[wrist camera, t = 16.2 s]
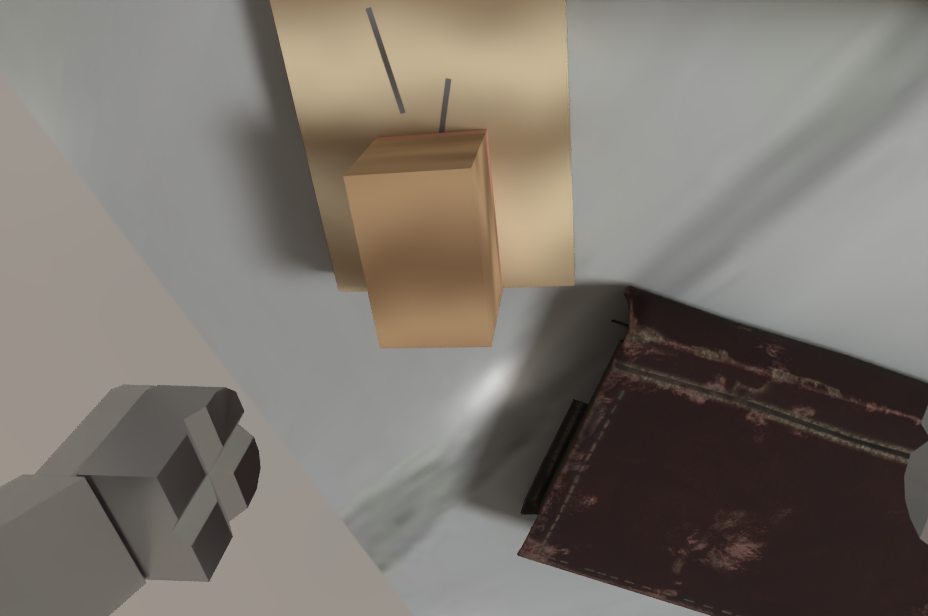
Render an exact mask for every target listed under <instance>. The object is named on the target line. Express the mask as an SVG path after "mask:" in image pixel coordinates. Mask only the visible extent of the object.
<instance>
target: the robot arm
mask: <svg viewBox="0 0 928 616" xmlns="http://www.w3.org/2000/svg"><path fill="white" fill-rule="evenodd" d="M243 413H244V410H243V407H242V405H241V403H240V400H239V398H238V396H237V393H236V392H235V391H233V390H230V389H228V388H226V387H198V386H170V385H157V386H151V385H122V386H119V387H116V388H114V389H111V390H110V391H109V392H108V394H107V395H106V396H105V397H104V398H103V399H102V400H101V402H100V403H98V405H97V406H96V407H95V408H94V409H93V410H92V411H91V412H90V413H89V415H88V416H87V417H86V418H85V419H84V420H83V421H82V422H81V424H80V425H79V426H78V427H77V428H76V429H75V430H74V431H73V432H72V433H71V434H70V436H69V437H68V438H67V439H66V440H65V441H64V442H63V443H62V444H61V446H60V447H59V448H58V449H57V450H56V451H55V452H54V453H53V454H52V455H51V457H50V458H49V459H48V460H47V461H46V462H45V463H44V464H43V466H42V467H41V468H40V469H39V470H38V471H37V472H36V473H35V474H34V475H21V476H19V477H17V478H16V479H14V480H12V481H10V482H8V483H6V484H5V485H3V486H1V487H0V616H109V615H110V614H111V613H113V612H114V611H115V610H116V609H117V608H118V607H119V606H121V605H122V604H123V603H124V602H125V601H126V600H127V599H128V598H130V597H131V596H132V595H133V594H134V593H135V592H136V591H137V590H139V589H140V588H141V587H142V586H143V585H144V584H145V583H146V582H145V580H144V579H148V580H174V581H202V582H209V581H210V579H211V577H212V575H213V573H214V571H215V569H216V567H217V565H218V564H219V562H220V560H221V558H222V556H223V554H224V552H225V550H226V548H227V546H228V545H229V543H230V541H231V539H232V537H233V536H232V532H231V528H230V524H229V521H230V520H232V519H233V518H234V517H236V516H237V515H238V514H240V513H241V512H243V511H244V510H245V509H247V508H248V506H249V504H250V502H251V500H252V498H253V495H254V494H255V491H256V489H257V483H258V478H259V473H260V459H259V450H258V447H257V445H256V442H255V439H254V437H253V436H252V435H251V434H249V432H247V431H246V430H245V429H244V428H243V427H241V426H240V425H239V424H238V423H239V421H240V419H241V417H242V415H243ZM921 424H922V426H923V428H924V429H925V431H926V433H927V434H928V406H927V409H926V411H925V414H924V417H923V420H922V422H921ZM904 482H905V501H906V505H907V508H908V512H909V516H910V519H911V521H912V523H913V525H914V527H915V529H916V532H917V534H918V536H919V538H920V539H921V540H922V541H924V542H925V543H927V544H928V442H926V443H925V444H923V445H922V446H920V447H919V448H918V449H916V450H915V451H913V452H912V453H911V454H910V458H909V461H908V465H907V468H906V472H905V475H904Z"/></svg>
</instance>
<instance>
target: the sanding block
mask: <svg viewBox="0 0 928 616" xmlns="http://www.w3.org/2000/svg"><path fill="white" fill-rule="evenodd" d="M343 178H344V182H345V187H346V192H347V197H348V201H349V206H350V211H351V215H352V220H353V225H354V229H355V234H356V239H357V243H358V248H359V253H360V257H361V262H362V267H363V271H364V276H365V281H366V285H367V290H368V295H369V299H370V304H371V309H372V314H373V318H374V323H375V328H376V332H377V337H378V342H379V346H380V348H442V347H491V346H492V341H493V336H494V331H495V326H496V321H497V316H498V311H499V306H500V301H501V296H502V291H503V287H502V277H501V266H500V256H499V246H498V236H497V225H496V215H495V205H494V195H493V185H492V174H491V164H490V154H489V144H488V133H487V129H483V130H470V131H456V132H442V133H428V134H414V135H400V136H387V137H376V139H375V140H374V141H373V142H372V143H371V144H370V146H369V147H368V148H367V149H366V150H365V151H364V152H363V154H362V155H361V156H360V157H359V158H358V159H357V161H356V162H355V163H354V164H353V165H352V166H351V168H350V169H349V170H348V171H347V172H346V173H345V175H344V176H343Z"/></svg>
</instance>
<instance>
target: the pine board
mask: <svg viewBox="0 0 928 616" xmlns="http://www.w3.org/2000/svg"><path fill="white" fill-rule="evenodd" d="M270 4H271V8H272V12H273V16H274V20H275V25H276V29H277V33H278V37H279V42H280V46H281V50H282V54H283V58H284V63H285V67H286V71H287V75H288V80H289V84H290V88H291V92H292V96H293V101H294V105H295V109H296V113H297V118H298V122H299V126H300V130H301V134H302V139H303V143H304V147H305V151H306V156H307V160H308V164H309V168H310V172H311V177H312V181H313V185H314V189H315V194H316V198H317V202H318V206H319V210H320V215H321V219H322V223H323V227H324V232H325V236H326V240H327V244H328V248H329V253H330V257H331V261H332V265H333V270H334V274H335V278H336V282H337V286H338V291H339V292H366V291H368V290H367V285H366V281H365V276H364V271H363V267H362V262H361V257H360V253H359V248H358V243H357V239H356V234H355V229H354V225H353V220H352V215H351V211H350V206H349V201H348V197H347V192H346V187H345V182H344V178H343V176H344V175H345V173H346V172H347V171H348V170H349V169H350V168H351V166H352V165H353V164H354V163H355V162H356V161H357V159H358V158H359V157H360V156H361V155H362V154H363V152H364V151H365V150H366V149H367V148H368V147H369V146H370V144H371V143H372V142H373V141H374V140H375V139H376V137H387V136H400V135H414V134H428V133H442V132H456V131H470V130H483V129H487V133H488V144H489V154H490V164H491V174H492V185H493V195H494V205H495V215H496V225H497V236H498V246H499V256H500V266H501V277H502V287H503V288H509V287H545V286H575V257H574V228H573V198H572V169H571V140H570V110H569V81H568V52H567V22H566V0H270Z"/></svg>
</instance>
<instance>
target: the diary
mask: <svg viewBox="0 0 928 616" xmlns="http://www.w3.org/2000/svg"><path fill="white" fill-rule="evenodd" d="M625 296H626V298H627V300H628V304H629V312H630V321H629V324H625V323H622V322H619V321H616V320H613V319H612V320H611V321H612V322H615V323H618V324H621V325H624V326H627V329H629V332H628V334H627V336H626V338H625V340H624V341H622V340H620V342H619V344H618V346H617V348H616V350H615V352H614V354H613V356H612V358H611V360H610V362H609V364H608V366H607V368H606V370H605V372H604V374H603V376H602V378H601V380H600V382H599V384H598V386H597V388H596V390H595V392H594V394H593V396H592V398H591V400H590V402H589V404H586V403H583V402H580V401H577V400H573V402H572V404H571V406H570V408H569V410H568V412H567V414H566V416H565V418H564V420H563V422H562V424H561V426H560V428H559V430H558V432H557V434H556V436H555V438H554V440H553V443H552V445H551V447H550V449H549V451H548V453H547V455H546V456H545V458H544V460H543V462H542V464H541V466H540V468H539V470H538V472H537V475H536V477H535V479H534V481H533V483H532V486H531V488H530V490H529V492H528V495H527V497H526V499H525V502H524V505H523V507H522V510H521V514H537V515H538V517H537V519H536V521H535V522H534V524H533V526H532V527H531V530H530V532H529V534H528V536H527V538H526V540H525V541H524V543H523V545H522V547H521V549H520V550H519V552H518V553H517V555H518V556H520V557H524V558H527V559H530V560H533V561H537V562H540V563H543V564H546V565H550V566H553V567H556V568H559V569H562V570H566V571H569V572H572V573H575V574H579V575H582V576H585V577H588V578H591V579H595V580H598V581H601V582H604V583H608V584H611V585H614V586H617V587H621V588H624V589H627V590H630V591H633V592H637V593H640V594H643V595H646V596H650V597H653V598H656V599H659V600H662V601H666V602H669V603H672V604H675V605H679V606H682V607H685V608H688V609H691V610H695V611H698V612H701V613H704V614H708V615H711V616H928V544H927V543H925V542H924V541H922V540H921V539H920V538H919V536H918V534H917V532H916V529H915V527H914V525H913V523H912V521H911V519H910V516H909V512H908V508H907V505H906V501H905V482H904V475H905V472H906V468H907V465H908V461H909V458H910V454H911V453H912V452H913V451H915V450H916V449H918V448H919V447H920V446H922V445H923V444H925V443H926V442H928V434H927V433H926V431H925V429H924V428H923V426H922V424H921V422H922V420H923V417H924V414H925V411H926V409H927V406H928V383H925V382H922V381H919V380H916V379H913V378H910V377H907V376H904V375H901V374H898V373H895V372H892V371H889V370H887V369H884V368H881V367H878V366H875V365H872V364H869V363H866V362H863V361H860V360H857V359H854V358H851V357H848V356H845V355H841V354H838V353H835V352H831V351H828V350H825V349H821V348H818V347H814V346H811V345H808V344H804V343H801V342H798V341H794V340H791V339H788V338H784V337H781V336H777V335H774V334H771V333H767V332H764V331H761V330H757V329H754V328H750V327H747V326H744V325H741V324H738V323H735V322H732V321H729V320H726V319H724V318H721V317H718V316H715V315H712V314H709V313H706V312H704V311H701V310H698V309H695V308H692V307H689V306H686V305H683V304H681V303H678V302H675V301H672V300H669V299H666V298H663V297H661V296H658V295H655V294H652V293H649V292H646V291H643V290H640V289H637V288H634V287H631V286H628V287H627V288H626V289H625Z"/></svg>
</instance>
